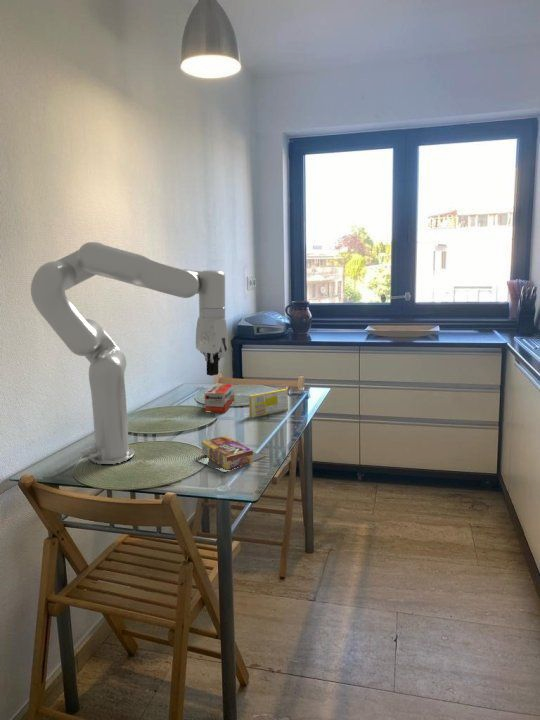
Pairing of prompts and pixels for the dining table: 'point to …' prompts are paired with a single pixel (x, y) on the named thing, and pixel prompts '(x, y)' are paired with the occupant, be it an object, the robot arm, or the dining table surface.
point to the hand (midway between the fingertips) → (212, 374)
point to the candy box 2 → (268, 402)
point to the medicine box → (219, 397)
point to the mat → (255, 458)
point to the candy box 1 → (227, 452)
